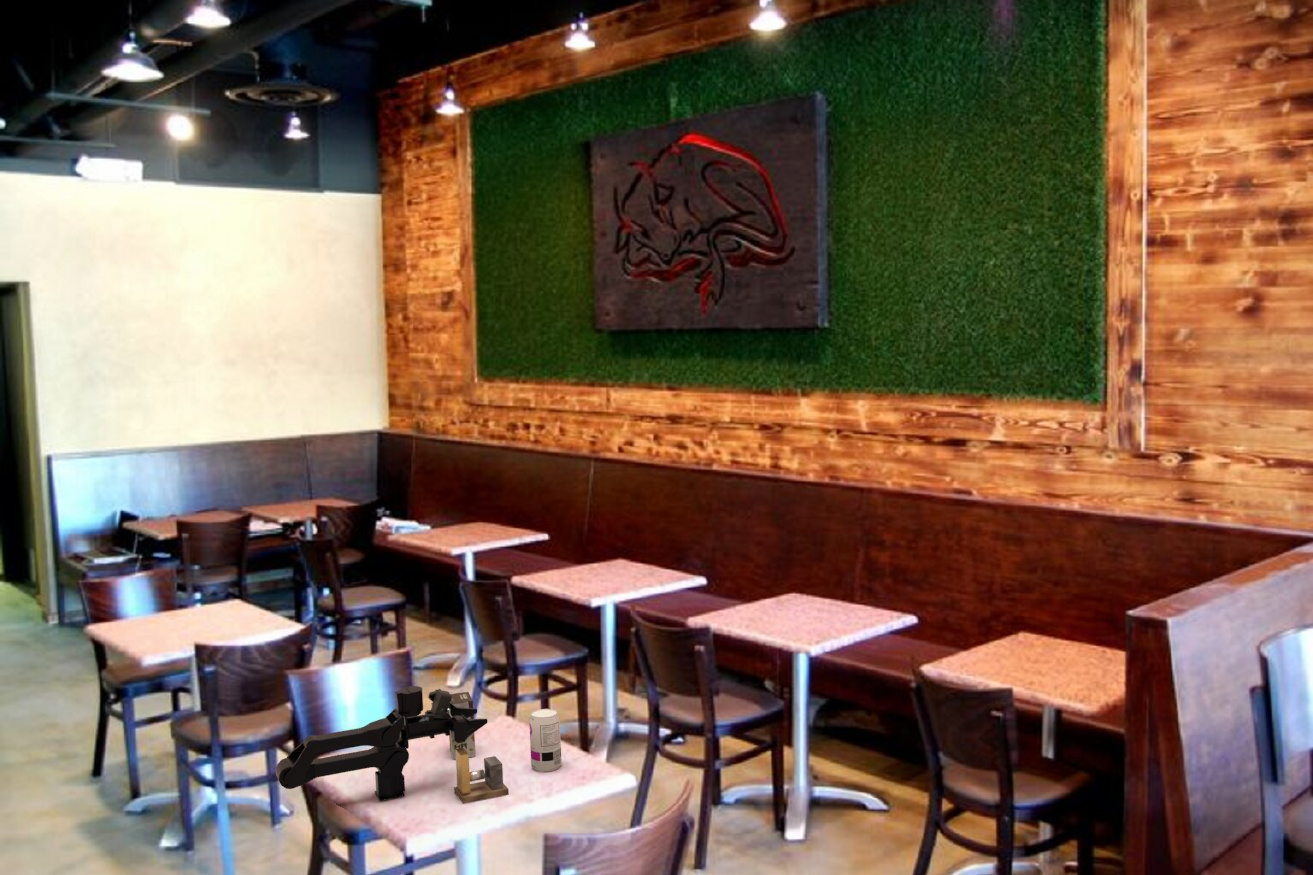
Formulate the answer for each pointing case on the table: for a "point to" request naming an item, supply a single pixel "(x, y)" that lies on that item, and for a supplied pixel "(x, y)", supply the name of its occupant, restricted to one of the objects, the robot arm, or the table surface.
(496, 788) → the peg insertion fixture
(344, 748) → the robot arm
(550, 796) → the table surface
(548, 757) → the supplement can
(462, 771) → the tan wooden tall block
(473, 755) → the coffee box
